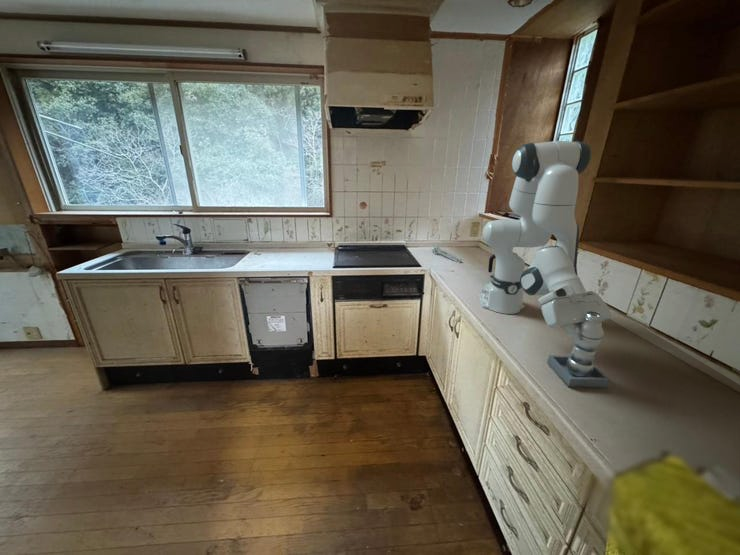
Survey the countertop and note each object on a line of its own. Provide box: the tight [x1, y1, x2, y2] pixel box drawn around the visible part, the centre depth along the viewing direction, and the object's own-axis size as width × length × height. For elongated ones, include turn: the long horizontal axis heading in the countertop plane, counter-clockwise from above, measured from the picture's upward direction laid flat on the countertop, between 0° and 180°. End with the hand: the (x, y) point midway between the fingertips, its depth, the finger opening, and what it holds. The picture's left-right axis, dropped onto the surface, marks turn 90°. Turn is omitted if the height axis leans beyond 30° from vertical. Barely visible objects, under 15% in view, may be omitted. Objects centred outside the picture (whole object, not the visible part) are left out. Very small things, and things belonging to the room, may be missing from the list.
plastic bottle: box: [567, 311, 605, 377], centre depth 84 cm, size 6×7×20 cm
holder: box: [546, 354, 611, 389], centre depth 88 cm, size 11×11×3 cm
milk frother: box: [487, 252, 519, 279], centre depth 161 cm, size 14×16×15 cm
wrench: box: [429, 242, 463, 264], centre depth 204 cm, size 8×2×30 cm
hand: (589, 338), depth 83 cm, fingers closed on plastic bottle, 6 cm apart
